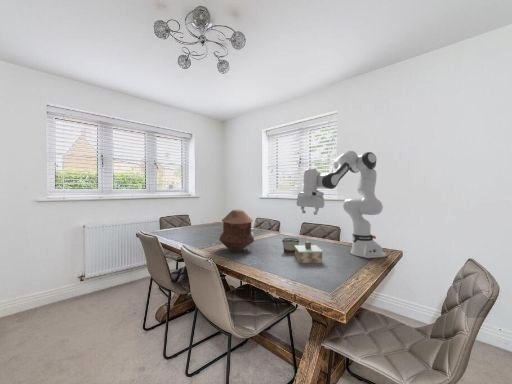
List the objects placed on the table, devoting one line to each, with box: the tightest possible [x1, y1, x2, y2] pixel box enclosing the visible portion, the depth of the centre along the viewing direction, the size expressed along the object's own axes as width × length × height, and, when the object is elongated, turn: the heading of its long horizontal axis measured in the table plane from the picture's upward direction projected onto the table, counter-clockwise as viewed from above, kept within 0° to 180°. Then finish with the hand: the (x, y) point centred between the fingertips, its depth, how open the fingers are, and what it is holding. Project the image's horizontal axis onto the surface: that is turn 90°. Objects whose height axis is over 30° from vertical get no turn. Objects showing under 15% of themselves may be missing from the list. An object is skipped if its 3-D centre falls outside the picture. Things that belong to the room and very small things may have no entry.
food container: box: [281, 237, 301, 254], centre depth 167 cm, size 12×6×10 cm, turn 84°
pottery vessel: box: [218, 209, 255, 253], centre depth 173 cm, size 26×26×30 cm
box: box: [294, 248, 323, 264], centre depth 150 cm, size 14×14×7 cm
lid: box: [294, 240, 324, 254], centre depth 149 cm, size 15×15×5 cm
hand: (309, 214), depth 153 cm, fingers open, 8 cm apart
